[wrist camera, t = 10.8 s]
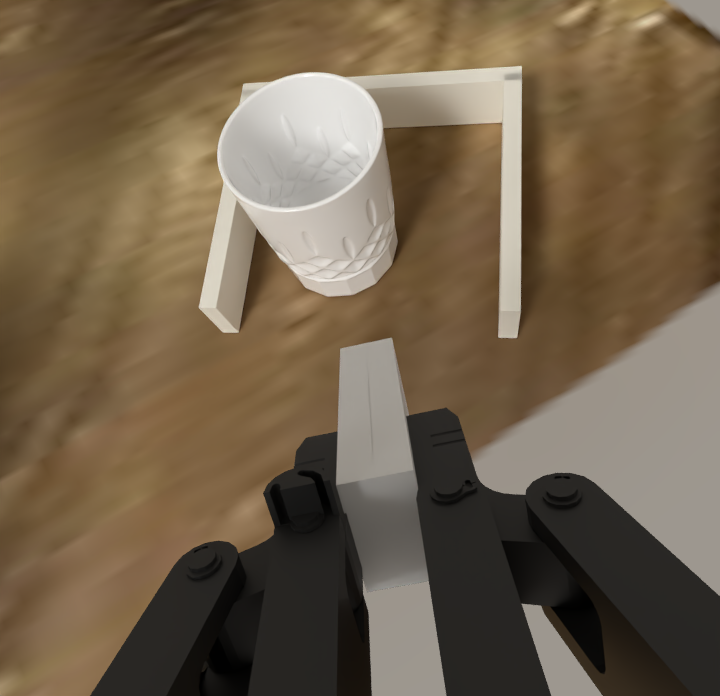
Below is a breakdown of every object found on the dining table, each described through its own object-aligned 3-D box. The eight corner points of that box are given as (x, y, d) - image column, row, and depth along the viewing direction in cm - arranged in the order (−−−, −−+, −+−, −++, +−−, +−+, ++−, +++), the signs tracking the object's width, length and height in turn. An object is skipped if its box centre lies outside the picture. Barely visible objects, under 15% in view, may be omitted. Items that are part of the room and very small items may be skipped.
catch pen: (517, 338, 34) (520, 311, 31) (222, 332, 38) (198, 307, 34) (518, 109, 40) (521, 66, 36) (261, 121, 43) (243, 83, 40)
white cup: (373, 173, 40) (341, 46, 31) (430, 269, 37) (412, 159, 27) (262, 228, 40) (195, 118, 31) (308, 329, 37) (249, 240, 27)
